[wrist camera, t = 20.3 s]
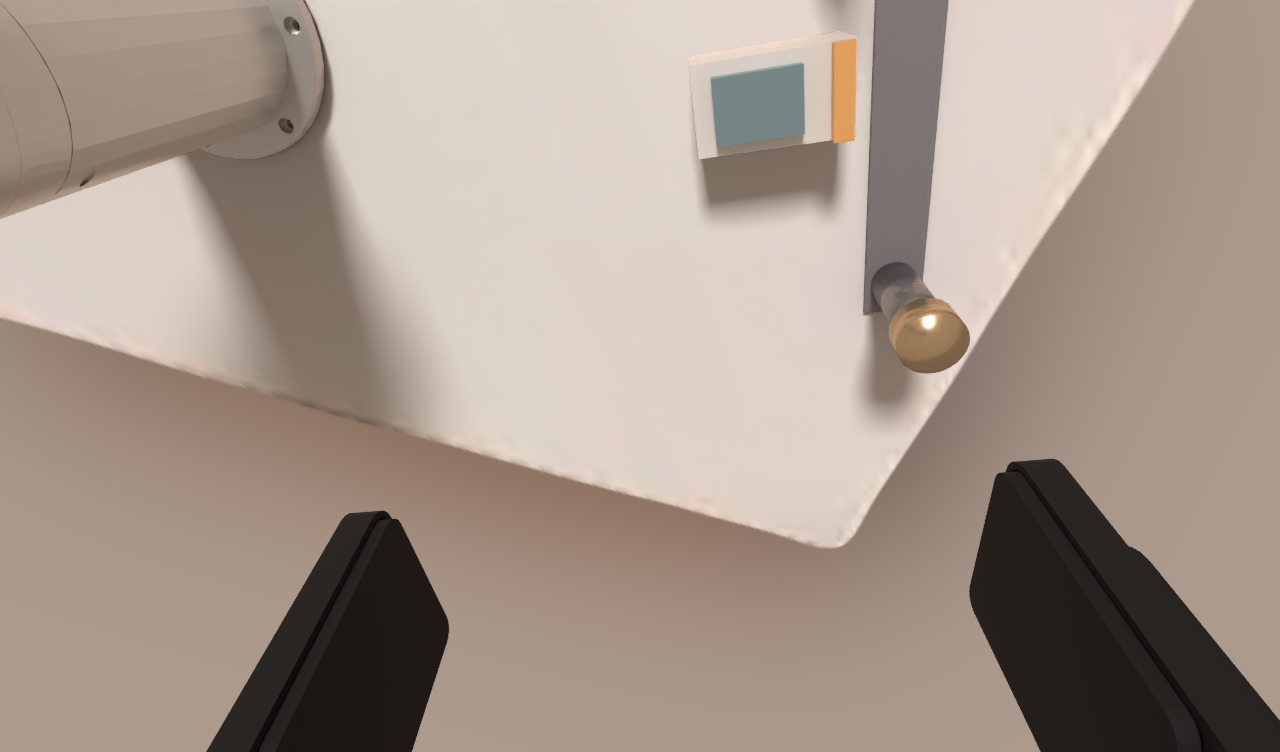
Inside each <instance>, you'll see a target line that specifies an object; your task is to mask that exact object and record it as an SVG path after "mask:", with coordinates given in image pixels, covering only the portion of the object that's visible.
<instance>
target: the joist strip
mask: <svg viewBox="0 0 1280 752" xmlns="http://www.w3.org/2000/svg"><path fill="white" fill-rule="evenodd" d="M947 10H948V0H875V22H874V48H873V75H872V101H871V127H870V153H869V179H868V205H867V231H866V257H865V283H864V309H863V311H864V313H869V312H879V311H882V309H881V307H880V306H879V304H878V302H877V300H876V298H875V297H874V295H873V293H872V290H871V281H872V278H873V276H874V274H875V273H876V272H877V271H878V270H879V269H880V268H881V267H883V266H885V265H887V264H889V263H893V262H902V263H906V264H908V265H910V266H911V267H912V268H913V269H914V271H915V272H916V273H917V275H918V276H919V277H920V279H921V280H922V281H923V271H924V260H925V249H926V239H927V228H928V217H929V206H930V195H931V184H932V173H933V162H934V152H935V141H936V130H937V119H938V108H939V97H940V86H941V75H942V65H943V54H944V43H945V32H946V21H947Z"/></svg>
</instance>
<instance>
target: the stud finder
mask: <svg viewBox="0 0 1280 752" xmlns="http://www.w3.org/2000/svg"><path fill="white" fill-rule="evenodd" d="M857 60H858V37H855V36H853V35H851V34H848V33H846V32H843V31H841V30H840V31H834V32H828V33H823V34H817V35H811V36H805V37H799V38H793V39H787V40H781V41H775V42H769V43H763V44H758V45H752V46H746V47H740V48H734V49H728V50H722V51H716V52H710V53H704V54H699V55H693V56H690V57H689V74H690V83H691V92H692V102H693V111H694V121H695V130H696V139H697V149H698V158H699V159H705V158H712V157H719V156H726V155H733V154H740V153H747V152H754V151H761V150H768V149H775V148H782V147H788V146H795V145H802V144H809V143H816V142H823V141H830V140H831V141H832V142H833V143H841V142H848V141H854V140H855V137H856V102H857Z"/></svg>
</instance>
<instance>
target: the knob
mask: <svg viewBox="0 0 1280 752" xmlns="http://www.w3.org/2000/svg"><path fill="white" fill-rule="evenodd" d="M871 290H872V293H873V295H874V297H875V298H876V300H877V302H878V304H879V306H880V307H881V309H882V311H883V313H884V315H885V316H886V318H887V320H888V322H889V324H890V325H889V338H890V341H891V343H892V345H893V347H894V348H895V350H896V352H897V354H898V356H899V358H900V360H901V361H902V363H903V364H904V365H905V366H906V367H907V368H909V369H910V370H912V371H915V372H919V373H936V372H940V371H943V370H945V369H947V368H949V367H951V366H953V365H954V364H955V363H957V362H958V361H959V360H960V359H961V358H962V357H963V355H964V354H965V352H966V351H967V349H968V346H969V342H970V335H969V331H968V329H967V327H966V325H965V324H964V323H963V321H962V320H961V319H960V317H959V316H958V315H957V314H956V312H955V311H954V310H953V308H952V307H951V306H950V305H949V304H948V303H946V302H945V301H943V300H940V299H936V298H934V296H933V295H932V294H931V292H930V291H929V290H928V288H927V287H926V285H925V284H924V283H923V281H922V280H921V279H920V277H919V276H918V275H917V273H916V272H915V271H914V269H913V268H912V267H911V266H910V265H908V264H906V263H902V262H893V263H889V264H887V265H885V266H883V267H881V268H880V269H879V270H878V271H877V272H876V273H875V274H874V276H873V278H872V281H871Z"/></svg>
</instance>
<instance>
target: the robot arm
mask: <svg viewBox="0 0 1280 752" xmlns="http://www.w3.org/2000/svg"><path fill="white" fill-rule="evenodd" d="M297 22H298V23H299V26H300V29H299V28H298V26H297ZM323 89H324V63H323V57H322V51H321V46H320V40H319V38H318V35H317V32H316V29H315V26H314V23H313V20H312V17H311V15H310V13H309V11H308V9H307V7H306V5H305V3H304V1H303V0H0V219H2V218H4V217H7V216H10V215H13V214H16V213H19V212H21V211H24V210H27V209H30V208H33V207H35V206H38V205H41V204H44V203H46V202H49V201H52V200H55V199H58V198H61V197H64V196H66V195H69V194H72V193H75V192H78V191H81V190H83V189H86V188H89V187H92V186H95V185H98V184H101V183H103V182H106V181H109V180H112V179H115V178H118V177H120V176H123V175H126V174H129V173H132V172H135V171H137V170H140V169H143V168H146V167H149V166H152V165H155V164H157V163H160V162H163V161H166V160H169V159H172V158H174V157H177V156H180V155H183V154H186V153H189V152H192V151H194V150H197V149H200V150H202V151H205V152H208V153H211V154H214V155H217V156H221V157H227V158H234V159H258V158H262V157H265V156H269V155H272V154H275V153H278V152H280V151H282V150H284V149H286V148H288V147H290V146H291V145H293V144H294V143H295V142H297V141H298V140H299V139H300V138H302V137H303V136H304V134H305V133H306V132H307V130H308V129H309V128H310V126H311V125H312V124H313V122H314V120H315V117H316V115H317V113H318V110H319V108H320V105H321V100H322V94H323ZM291 123H292V124H293V125H292V124H291ZM969 592H970V600H971V605H972V608H973V611H974V613H975V615H976V617H977V619H978V622H979V624H980V626H981V628H982V630H983V632H984V634H985V636H986V638H987V640H988V642H989V644H990V647H991V649H992V651H993V653H994V655H995V657H996V659H997V661H998V663H999V665H1000V668H1001V670H1002V671H1003V674H1004V676H1005V678H1006V680H1007V682H1008V684H1009V686H1010V688H1011V690H1012V692H1013V695H1014V697H1015V699H1016V701H1017V703H1018V705H1019V707H1020V709H1021V711H1022V713H1023V715H1024V718H1025V720H1026V722H1027V724H1028V726H1029V728H1030V730H1031V732H1032V734H1033V736H1034V738H1035V741H1036V743H1037V745H1038V747H1039V749H1040V751H1041V752H1280V720H1279V719H1278V718H1277V717H1276V715H1275V714H1274V713H1273V712H1272V711H1271V709H1270V708H1269V707H1268V706H1267V704H1266V703H1265V702H1264V701H1263V699H1262V698H1261V697H1260V696H1259V694H1258V693H1257V692H1256V691H1255V690H1254V689H1253V687H1252V686H1251V685H1250V683H1249V682H1248V681H1247V680H1246V679H1245V677H1244V676H1243V675H1242V674H1241V673H1240V671H1239V670H1238V669H1237V668H1236V666H1235V665H1234V664H1233V663H1232V662H1231V660H1230V659H1229V658H1228V657H1227V655H1226V654H1225V653H1224V652H1223V650H1222V649H1221V648H1220V647H1219V646H1218V644H1217V643H1216V642H1215V641H1214V639H1213V638H1212V637H1211V636H1210V634H1209V633H1208V632H1207V631H1206V629H1205V628H1204V627H1203V626H1202V625H1201V623H1200V622H1199V621H1198V620H1197V618H1196V617H1195V616H1194V615H1193V614H1192V612H1191V611H1190V610H1189V609H1188V607H1187V606H1186V605H1185V604H1184V603H1183V601H1182V600H1181V599H1180V598H1179V596H1178V595H1177V594H1176V593H1175V591H1174V590H1173V589H1172V588H1171V587H1170V585H1169V584H1168V583H1167V582H1166V580H1165V579H1164V578H1163V577H1162V576H1161V574H1160V573H1159V572H1158V571H1157V569H1156V568H1155V567H1154V566H1153V565H1152V564H1151V562H1150V561H1149V560H1148V559H1147V558H1146V557H1145V556H1144V555H1143V554H1142V553H1141V552H1139V551H1137V550H1136V549H1134V548H1132V547H1129V546H1128V545H1127V544H1126V543H1125V541H1124V540H1123V539H1122V538H1121V536H1120V535H1119V534H1118V533H1117V531H1116V530H1115V529H1114V528H1113V526H1112V525H1111V524H1110V523H1109V521H1108V520H1107V519H1106V518H1105V516H1104V515H1103V514H1102V513H1101V511H1100V510H1099V509H1098V508H1097V506H1096V505H1095V504H1094V503H1093V501H1092V500H1091V499H1090V498H1089V496H1088V495H1087V494H1086V493H1085V492H1084V490H1083V489H1082V488H1081V486H1080V485H1079V484H1078V483H1077V481H1076V480H1075V479H1074V478H1073V476H1072V475H1071V474H1070V473H1069V471H1068V470H1067V469H1066V468H1065V466H1064V465H1063V464H1062V463H1060V461H1058V460H1055V459H1044V460H1033V461H1018V462H1011V463H1010V464H1009V465H1008V467H1007V470H1006V472H1004V473H998V474H997V475H996V478H995V481H994V485H993V490H992V494H991V498H990V502H989V507H988V511H987V515H986V519H985V524H984V528H983V533H982V536H981V541H980V545H979V549H978V554H977V558H976V562H975V566H974V571H973V575H972V579H971V584H970V590H969ZM448 633H449V624H448V619H447V617H446V615H445V612H444V610H443V608H442V606H441V604H440V602H439V600H438V598H437V596H436V594H435V592H434V590H433V588H432V586H431V584H430V582H429V580H428V578H427V576H426V574H425V571H424V569H423V567H422V565H421V564H420V561H419V559H418V557H417V555H416V553H415V551H414V549H413V547H412V545H411V543H410V541H409V539H408V537H407V535H406V533H405V531H404V529H403V527H402V525H401V523H400V522H399V520H397V519H392V518H391V517H390V515H389V514H388V513H387V512H385V511H374V512H361V513H350V514H348V515H346V516H345V517H344V518H343V519H342V521H341V522H340V524H339V525H338V527H337V529H336V531H335V532H334V534H333V536H332V538H331V539H330V541H329V543H328V544H327V546H326V548H325V550H324V551H323V553H322V555H321V556H320V558H319V560H318V561H317V563H316V565H315V567H314V568H313V570H312V572H311V574H310V575H309V577H308V579H307V580H306V582H305V584H304V585H303V587H302V589H301V591H300V592H299V594H298V596H297V597H296V599H295V601H294V603H293V604H292V606H291V608H290V609H289V611H288V613H287V615H286V616H285V618H284V620H283V621H282V623H281V625H280V627H279V628H278V630H277V632H276V633H275V635H274V637H273V639H272V640H271V642H270V644H269V645H268V647H267V649H266V651H265V652H264V654H263V656H262V657H261V659H260V661H259V663H258V664H257V666H256V668H255V670H254V671H253V673H252V675H251V676H250V678H249V680H248V682H247V683H246V685H245V686H244V688H243V690H242V692H241V693H240V695H239V697H238V699H237V700H236V702H235V704H234V705H233V707H232V709H231V711H230V712H229V714H228V716H227V717H226V719H225V721H224V722H223V724H222V726H221V728H220V729H219V731H218V733H217V734H216V736H215V738H214V740H213V741H212V743H211V745H210V746H209V748H208V750H207V752H412V749H413V746H414V743H415V740H416V737H417V734H418V730H419V727H420V724H421V721H422V718H423V715H424V712H425V709H426V706H427V702H428V699H429V696H430V693H431V690H432V687H433V684H434V681H435V678H436V674H437V672H438V668H439V665H440V662H441V659H442V656H443V653H444V649H445V647H446V644H447V639H448Z"/></svg>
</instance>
